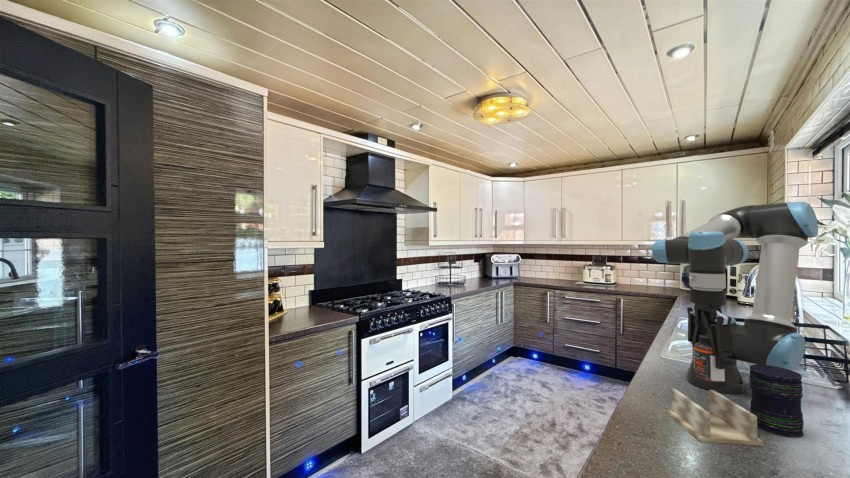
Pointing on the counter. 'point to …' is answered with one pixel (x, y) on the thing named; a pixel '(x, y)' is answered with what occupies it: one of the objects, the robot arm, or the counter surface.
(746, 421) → the docking cradle
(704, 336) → the supplement bottle
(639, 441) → the counter surface
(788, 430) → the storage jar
